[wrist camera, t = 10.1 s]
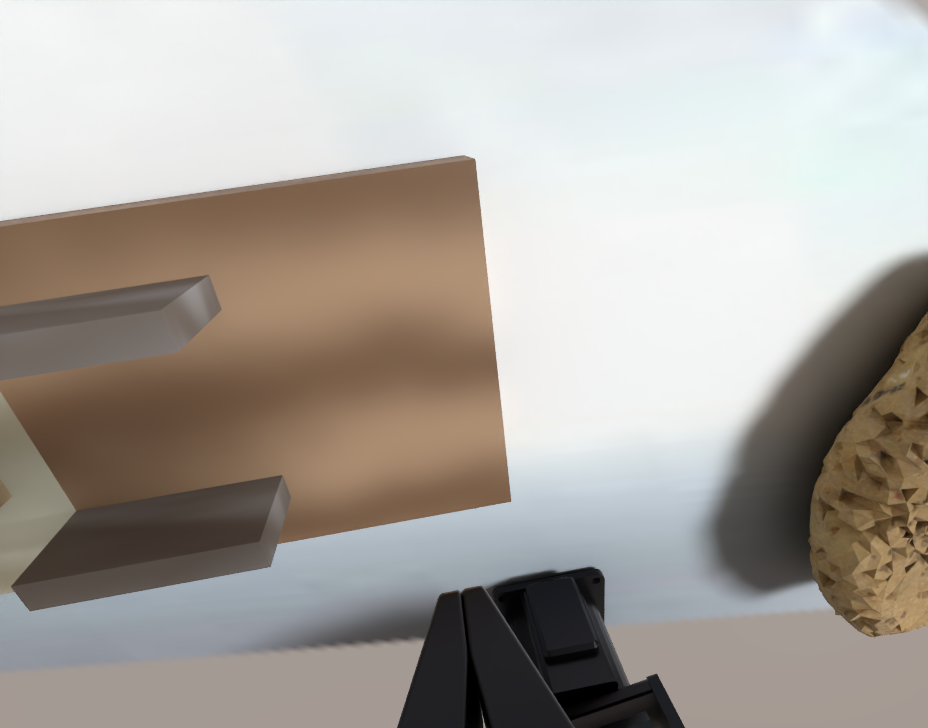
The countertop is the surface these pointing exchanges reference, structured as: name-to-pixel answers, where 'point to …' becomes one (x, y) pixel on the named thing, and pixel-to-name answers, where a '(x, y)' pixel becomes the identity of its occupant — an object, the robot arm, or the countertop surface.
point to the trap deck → (241, 376)
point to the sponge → (878, 503)
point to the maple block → (4, 494)
